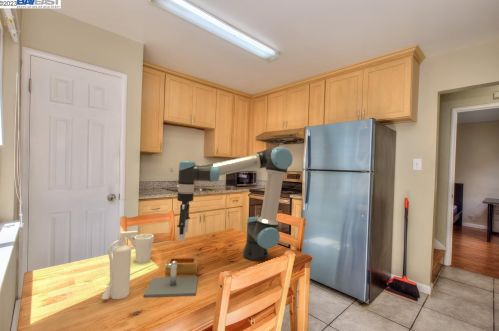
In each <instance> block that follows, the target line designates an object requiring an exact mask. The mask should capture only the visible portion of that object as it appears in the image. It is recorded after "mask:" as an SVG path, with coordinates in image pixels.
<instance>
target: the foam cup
mask: <svg viewBox="0 0 499 331" xmlns="http://www.w3.org/2000/svg"><path fill="white" fill-rule="evenodd" d="M133 239H134V240H135V243H136V245H135V246H134V250H135V251H134V252H135V260H136V263H137V264H145V263H148V262H150V259H151V256H152V255H151V254H152V248H153V245H154V244H153V242H154V240H155V237H154V234H152V233H142V234H136V235H134V237H133Z"/></svg>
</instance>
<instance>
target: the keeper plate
mask: <svg viewBox="0 0 499 331" xmlns="http://www.w3.org/2000/svg"><path fill="white" fill-rule="evenodd" d="M198 279H199V276H197V275H196V276H194V277H176V285H175V286H170V277H165V276H164V277H163V276H161V277H160V276H158V277H157V276H156V277H152V278H151V280H150V282H149V284H148V286H147V288H146V289H145V291H144V294H143V298H158V297H159V298H162V297H185V296H188V297H189V296H190V297H191V296H196V294H197V287H198Z"/></svg>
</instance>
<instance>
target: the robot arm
mask: <svg viewBox="0 0 499 331" xmlns="http://www.w3.org/2000/svg"><path fill="white" fill-rule="evenodd" d="M293 159H294V158H293V155H292V153H291V151H290V149H288V148H286V147H284V146H283V147H282V146H277V147H270V148H267V149H264V150H261V151H258V152H254V153H253V154H252V155H247V156H243V157H237V158H233V159H228V160H223V161H219V162H218V161H217V162H214V163H210V164H203V165H197V164H196V161H194V160H193V161H191V160H181V161H179V166H178V179H177V180H178V181H177V183H178V184H177V185H176V187H177V192H178V193H177V201H178V202H181V204H180V205H179V208H180V210H179V220H178V224H177V225H176V226H177V228H178V239H177V241H178V242H185V239H186V233H188V232H189V220H190V219H191V217H190V205H191V204H190V203H191V202H193V201H194V195H195V194H194V192H195V181H196V182H199V181H201V182H218V181H219V179H220V176H223V175H228V174H233V173H238V172H243V171H246V170H251V169H258V170H259V169H263V168H264V169H265V172H266V173H267V175H266V177H267V178H266V182H265V183H266V184H265V188H264V194H263V195H264V196H263V201H262V206H261V207H262V208H261V213H260V216H250V217H248V218H247V222H246V240H245V241H246V242H245V246H244V248H243V250H242V256H243V258H245V259H247V260H248V261H249V260H250V261H254V262H255V261H256V262H259V261H260V262H261V261H265V260H267V259H268V258H269V251H268V250H270V249H273V248H274V247H276V246H277V245H278V243H279V242H280V239H281V237H280V233H279V231H278V227H279V222H278V220H277V217H278V211H279V206H280V199H281V192H282V185H283V180H284V177H285V175H287V174H288V169H289V167H291V166H292V164H293Z"/></svg>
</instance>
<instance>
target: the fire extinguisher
mask: <svg viewBox="0 0 499 331" xmlns="http://www.w3.org/2000/svg"><path fill="white" fill-rule="evenodd" d="M137 235H139V231H138V230H130V231H128V230H127V231H119V233H118V236H117V237H118V238H119V239H117V240H115V241H113V242H112V243H111V244H109V248H108V252H107V253H108V259H109V282H108V285H107V286H106V288H105V290H104V292H103V294H102V296H101V299H102V300H108V299H110V298H111V299H113V300H122V299H123V298H124V299H125V298H126V297H128V295H129V294H130V282H131V263H132V262H131V261H132V260H131V259H132V248H131V246H133V247H135V245H136V243H135V240H134V237H131V236H137ZM126 238H127V239H128V240H129V241H130V244H131V246H130V245H129V244H127V240H126ZM116 244H118V245H116ZM114 245H116V246H114ZM113 246H114V247H113ZM112 248H113V249H112Z"/></svg>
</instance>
